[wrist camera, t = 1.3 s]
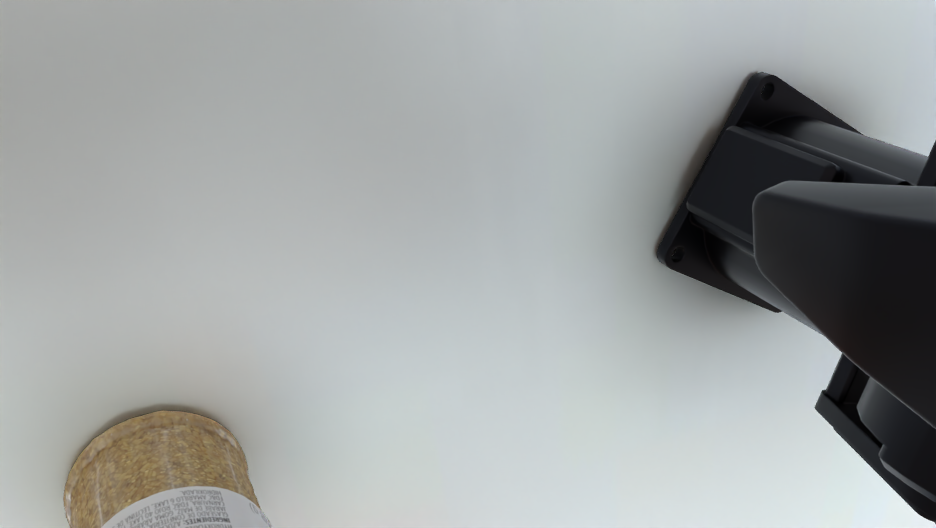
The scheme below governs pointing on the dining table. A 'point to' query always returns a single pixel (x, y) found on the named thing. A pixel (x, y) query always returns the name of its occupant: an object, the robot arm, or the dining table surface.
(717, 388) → the dining table surface
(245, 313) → the dining table surface
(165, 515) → the sprinkles bottle
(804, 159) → the robot arm
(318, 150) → the dining table surface
